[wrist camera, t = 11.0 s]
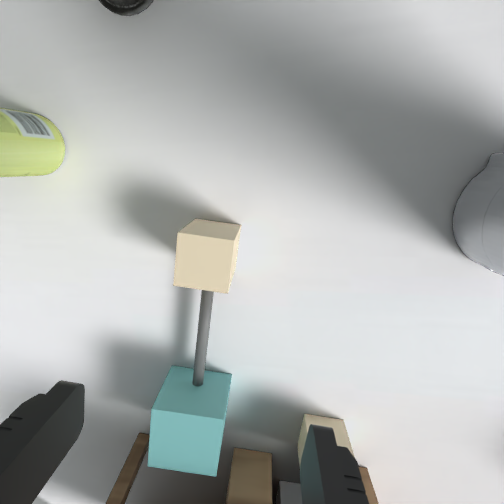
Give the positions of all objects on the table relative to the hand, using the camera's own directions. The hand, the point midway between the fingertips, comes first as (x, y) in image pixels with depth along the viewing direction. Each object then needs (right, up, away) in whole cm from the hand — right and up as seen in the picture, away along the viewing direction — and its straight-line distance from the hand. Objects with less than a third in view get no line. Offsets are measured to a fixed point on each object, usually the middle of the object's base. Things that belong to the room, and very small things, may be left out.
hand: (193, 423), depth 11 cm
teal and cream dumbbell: (-2, -1, +20) cm, 20 cm away
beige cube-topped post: (+8, -18, +24) cm, 31 cm away
